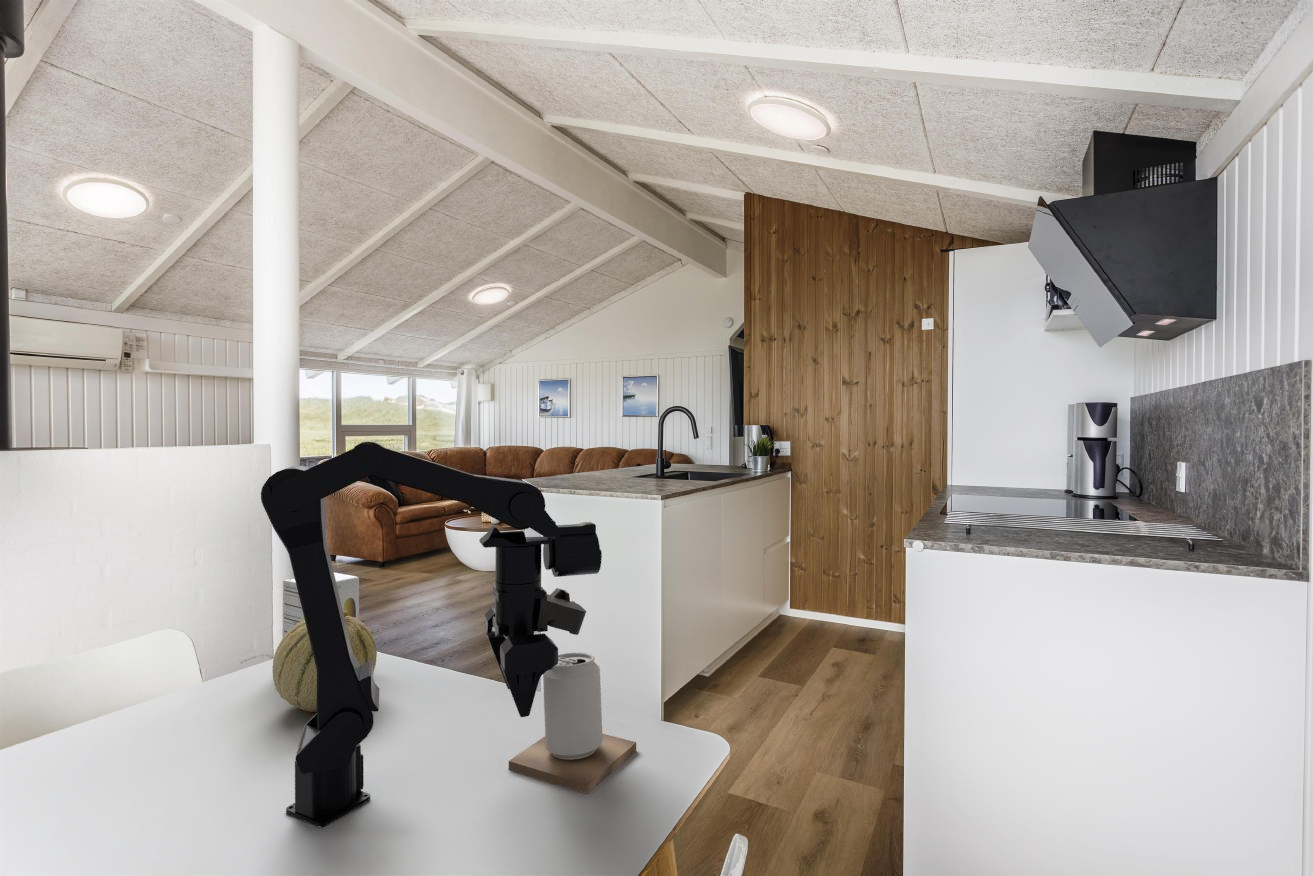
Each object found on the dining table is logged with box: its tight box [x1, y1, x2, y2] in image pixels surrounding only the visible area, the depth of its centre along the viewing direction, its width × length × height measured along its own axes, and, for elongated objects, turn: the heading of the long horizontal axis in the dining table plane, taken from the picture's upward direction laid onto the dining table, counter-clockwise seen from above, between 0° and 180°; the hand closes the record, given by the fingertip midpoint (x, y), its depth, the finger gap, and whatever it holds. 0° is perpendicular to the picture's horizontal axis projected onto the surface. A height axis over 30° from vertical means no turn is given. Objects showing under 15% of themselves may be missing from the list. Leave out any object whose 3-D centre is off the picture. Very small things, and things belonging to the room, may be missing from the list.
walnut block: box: [508, 733, 637, 795], centre depth 87 cm, size 12×12×2 cm
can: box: [542, 651, 603, 760], centre depth 87 cm, size 8×8×12 cm
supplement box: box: [282, 572, 360, 638], centre depth 119 cm, size 10×9×17 cm
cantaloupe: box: [272, 611, 378, 713], centre depth 103 cm, size 15×15×15 cm
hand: (517, 701), depth 84 cm, fingers open, 9 cm apart
